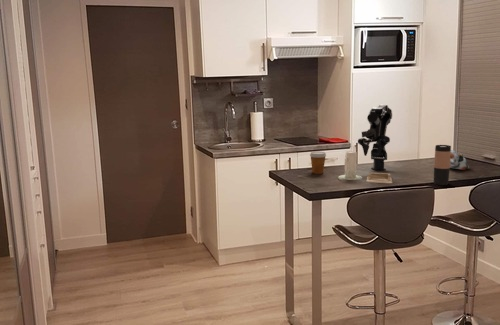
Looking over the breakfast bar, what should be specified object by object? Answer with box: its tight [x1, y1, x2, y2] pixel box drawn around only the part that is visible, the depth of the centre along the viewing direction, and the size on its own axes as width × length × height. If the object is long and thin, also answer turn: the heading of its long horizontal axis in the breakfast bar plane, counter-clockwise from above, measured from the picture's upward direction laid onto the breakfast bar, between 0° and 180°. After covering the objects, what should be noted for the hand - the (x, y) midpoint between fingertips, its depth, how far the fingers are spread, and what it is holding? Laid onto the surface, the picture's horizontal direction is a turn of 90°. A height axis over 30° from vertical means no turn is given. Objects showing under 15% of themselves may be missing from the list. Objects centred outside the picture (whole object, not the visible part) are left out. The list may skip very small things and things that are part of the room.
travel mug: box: [433, 144, 452, 186], centre depth 246 cm, size 8×8×20 cm
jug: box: [344, 150, 358, 178], centre depth 260 cm, size 8×6×14 cm
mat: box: [337, 174, 363, 181], centre depth 262 cm, size 13×13×1 cm
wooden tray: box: [366, 172, 393, 184], centre depth 254 cm, size 13×13×4 cm
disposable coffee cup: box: [309, 151, 327, 175], centre depth 278 cm, size 10×10×12 cm
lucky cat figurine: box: [450, 149, 470, 171], centre depth 284 cm, size 15×12×14 cm
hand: (371, 154), depth 265 cm, fingers open, 9 cm apart
